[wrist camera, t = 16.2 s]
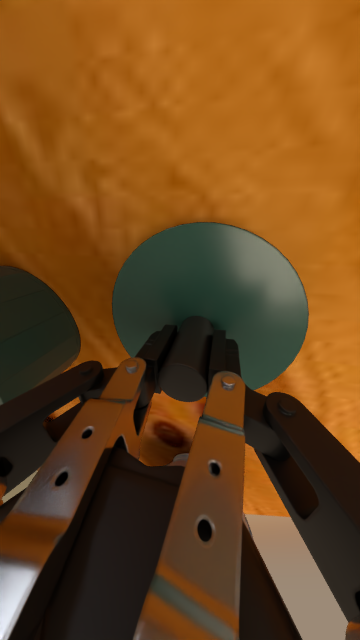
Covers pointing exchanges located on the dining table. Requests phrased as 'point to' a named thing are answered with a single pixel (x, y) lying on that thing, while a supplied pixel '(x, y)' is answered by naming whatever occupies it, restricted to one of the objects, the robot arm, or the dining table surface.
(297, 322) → the lid
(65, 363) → the pot
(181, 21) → the dining table surface
